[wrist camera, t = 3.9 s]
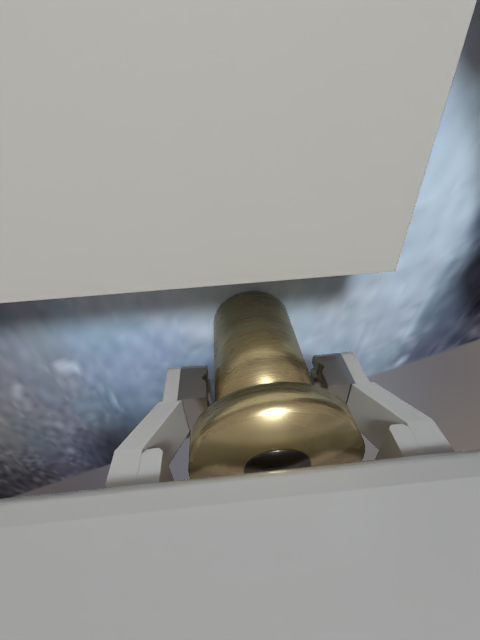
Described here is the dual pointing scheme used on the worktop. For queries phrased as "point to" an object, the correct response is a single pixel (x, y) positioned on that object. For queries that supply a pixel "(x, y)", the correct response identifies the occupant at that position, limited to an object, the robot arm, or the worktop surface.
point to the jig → (214, 139)
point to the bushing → (267, 399)
